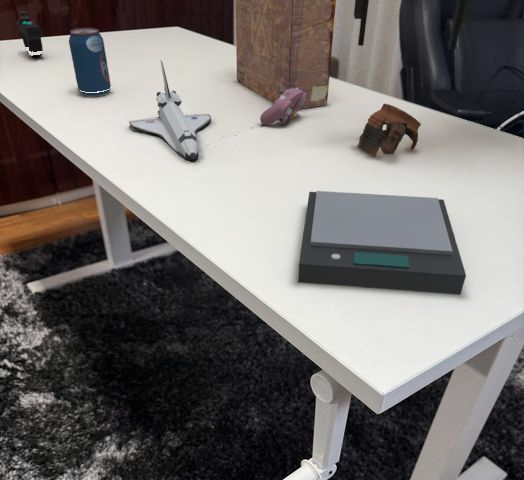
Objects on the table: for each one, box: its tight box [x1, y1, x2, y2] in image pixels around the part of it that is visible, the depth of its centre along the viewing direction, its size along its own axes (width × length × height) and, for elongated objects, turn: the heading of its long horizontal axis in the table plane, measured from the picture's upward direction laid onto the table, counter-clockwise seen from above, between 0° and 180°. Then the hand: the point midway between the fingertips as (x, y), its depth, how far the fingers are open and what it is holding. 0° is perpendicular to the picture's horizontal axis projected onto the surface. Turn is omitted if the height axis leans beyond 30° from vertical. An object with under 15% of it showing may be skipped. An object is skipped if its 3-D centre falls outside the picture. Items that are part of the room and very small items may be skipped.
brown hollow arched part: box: [356, 103, 422, 158], centre depth 90 cm, size 12×10×8 cm
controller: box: [16, 10, 44, 57], centre depth 140 cm, size 4×12×10 cm, turn 31°
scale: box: [297, 190, 467, 295], centre depth 67 cm, size 18×19×3 cm
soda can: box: [68, 27, 112, 98], centre depth 114 cm, size 7×7×12 cm
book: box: [234, 0, 337, 110], centre depth 109 cm, size 25×9×30 cm, turn 27°
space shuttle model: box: [128, 60, 212, 161], centre depth 94 cm, size 16×25×10 cm, turn 18°
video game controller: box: [259, 88, 307, 126], centre depth 103 cm, size 10×5×7 cm, turn 150°
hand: (405, 46), depth 82 cm, fingers open, 13 cm apart
